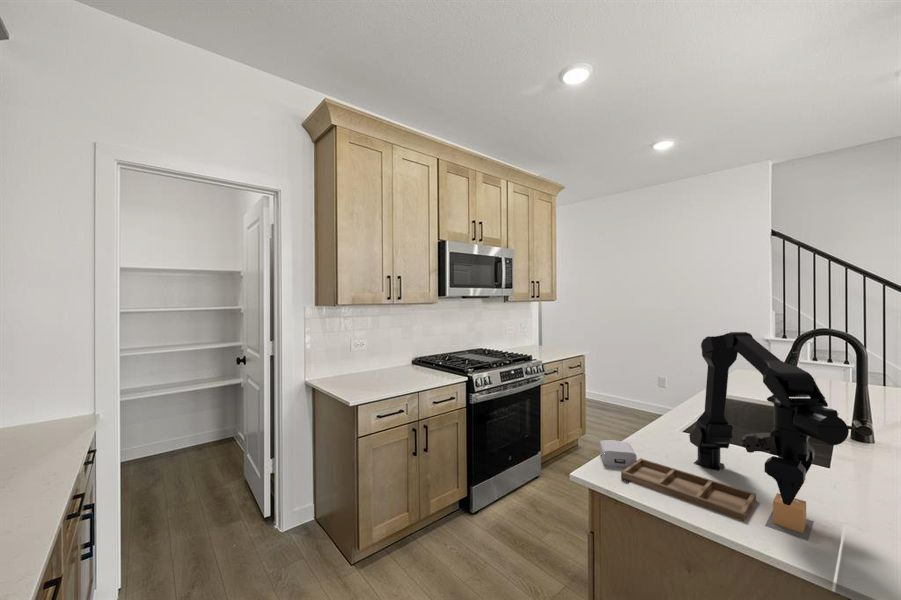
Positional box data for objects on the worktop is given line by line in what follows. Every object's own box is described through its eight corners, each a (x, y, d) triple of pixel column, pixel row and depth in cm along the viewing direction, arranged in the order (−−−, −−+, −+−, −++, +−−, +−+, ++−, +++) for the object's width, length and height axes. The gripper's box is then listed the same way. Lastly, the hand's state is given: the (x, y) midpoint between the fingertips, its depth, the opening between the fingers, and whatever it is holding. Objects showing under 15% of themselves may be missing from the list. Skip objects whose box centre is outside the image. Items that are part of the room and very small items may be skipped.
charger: (626, 449, 129) (636, 469, 114) (597, 446, 131) (603, 465, 117) (626, 435, 129) (636, 453, 114) (597, 432, 131) (603, 450, 117)
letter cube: (777, 514, 89) (777, 492, 89) (806, 523, 86) (806, 501, 85) (772, 522, 86) (773, 500, 86) (803, 533, 82) (803, 509, 82)
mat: (773, 510, 92) (773, 508, 92) (813, 523, 86) (813, 521, 86) (764, 528, 85) (764, 525, 85) (807, 543, 80) (807, 540, 80)
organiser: (640, 465, 116) (640, 458, 116) (756, 502, 95) (756, 493, 95) (621, 479, 108) (621, 471, 108) (743, 523, 87) (743, 514, 87)
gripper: (754, 410, 97) (754, 471, 98) (735, 428, 85) (735, 497, 85) (814, 420, 89) (814, 487, 89) (803, 442, 77) (802, 519, 77)
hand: (790, 496), depth 85 cm, fingers open, 9 cm apart
